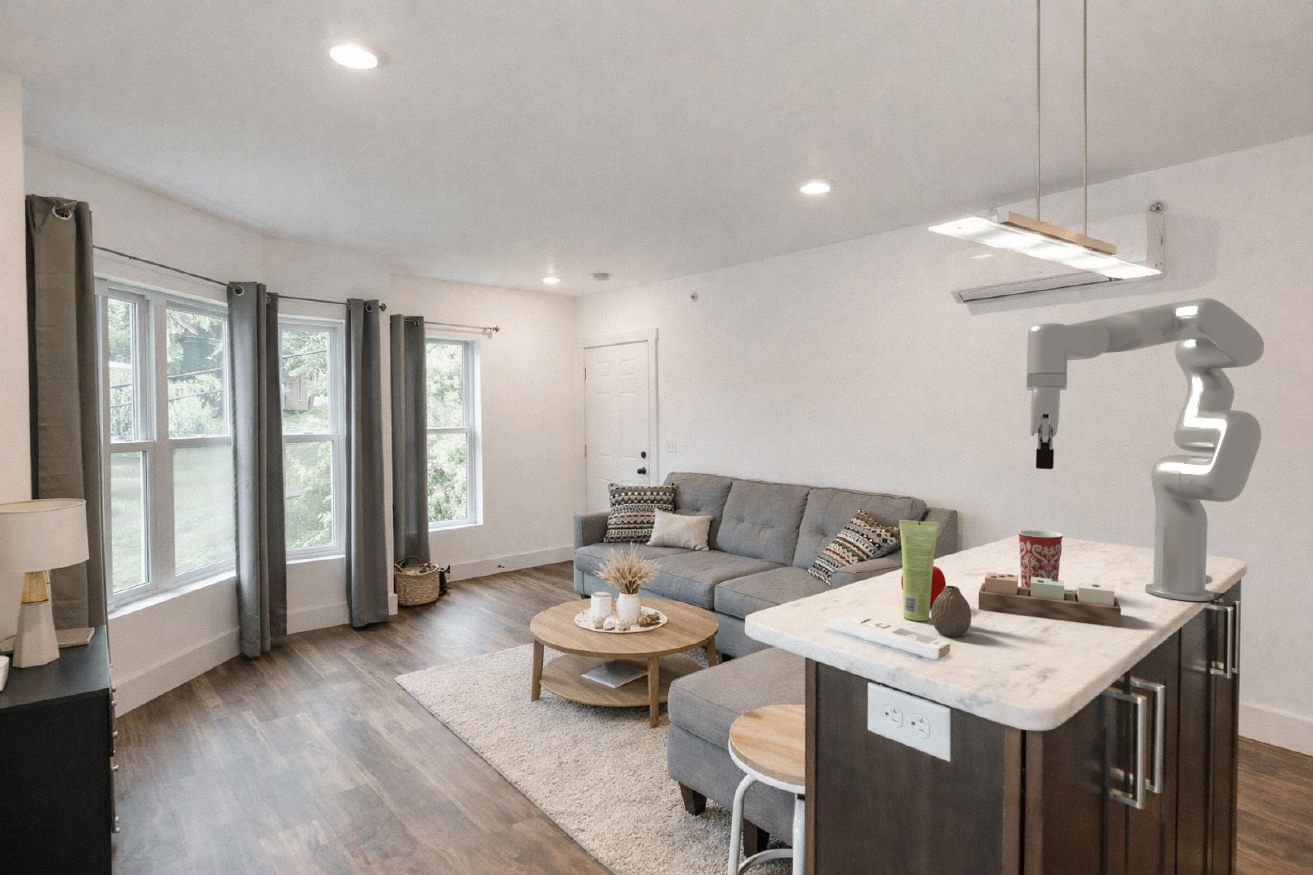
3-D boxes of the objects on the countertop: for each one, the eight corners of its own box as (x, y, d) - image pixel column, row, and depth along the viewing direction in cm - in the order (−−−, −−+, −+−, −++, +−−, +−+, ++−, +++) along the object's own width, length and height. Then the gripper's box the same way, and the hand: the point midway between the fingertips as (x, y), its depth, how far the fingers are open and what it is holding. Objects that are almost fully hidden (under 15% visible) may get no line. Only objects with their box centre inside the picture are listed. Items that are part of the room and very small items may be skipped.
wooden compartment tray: (1116, 613, 147) (1116, 596, 147) (1120, 626, 138) (1120, 608, 138) (982, 598, 159) (982, 582, 159) (978, 609, 150) (978, 592, 150)
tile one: (1111, 599, 146) (1111, 583, 146) (1113, 606, 140) (1114, 590, 140) (1077, 595, 149) (1077, 580, 148) (1078, 602, 143) (1078, 586, 143)
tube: (920, 613, 147) (921, 518, 146) (937, 620, 142) (939, 522, 141) (897, 616, 145) (898, 519, 144) (914, 623, 140) (916, 523, 140)
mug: (1047, 598, 159) (1048, 537, 159) (1008, 589, 167) (1010, 531, 167) (1078, 591, 166) (1080, 533, 165) (1040, 583, 174) (1041, 527, 173)
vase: (924, 628, 137) (925, 582, 136) (959, 627, 137) (960, 582, 137) (941, 640, 130) (942, 591, 130) (978, 639, 130) (979, 591, 130)
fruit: (955, 606, 153) (956, 559, 153) (923, 611, 149) (924, 563, 149) (921, 595, 161) (922, 551, 161) (891, 600, 157) (892, 554, 157)
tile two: (1063, 594, 150) (1063, 578, 150) (1063, 600, 145) (1064, 584, 144) (1030, 590, 153) (1031, 575, 153) (1030, 597, 147) (1030, 581, 147)
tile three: (1017, 589, 154) (1018, 574, 154) (1016, 595, 149) (1016, 580, 148) (986, 586, 157) (987, 571, 157) (984, 592, 151) (985, 576, 151)
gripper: (1027, 384, 162) (1025, 464, 162) (1025, 381, 147) (1023, 469, 147) (1066, 384, 158) (1064, 465, 159) (1067, 381, 143) (1065, 471, 144)
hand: (1044, 466), depth 153 cm, fingers open, 6 cm apart
